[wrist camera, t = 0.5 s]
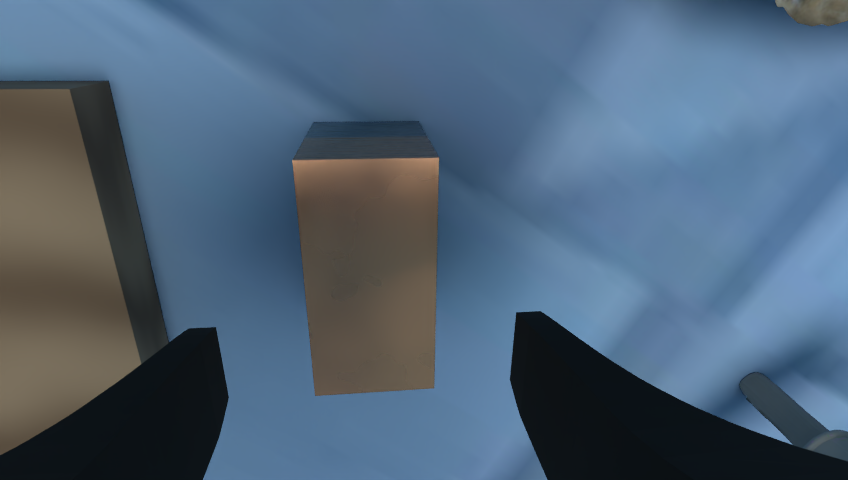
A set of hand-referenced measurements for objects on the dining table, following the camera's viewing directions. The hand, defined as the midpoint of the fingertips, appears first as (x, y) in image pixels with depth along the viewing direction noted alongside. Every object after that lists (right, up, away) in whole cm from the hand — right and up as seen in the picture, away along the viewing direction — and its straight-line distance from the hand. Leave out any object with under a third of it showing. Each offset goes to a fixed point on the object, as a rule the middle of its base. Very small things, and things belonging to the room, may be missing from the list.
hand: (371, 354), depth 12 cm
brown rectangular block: (-1, +4, +9) cm, 9 cm away
